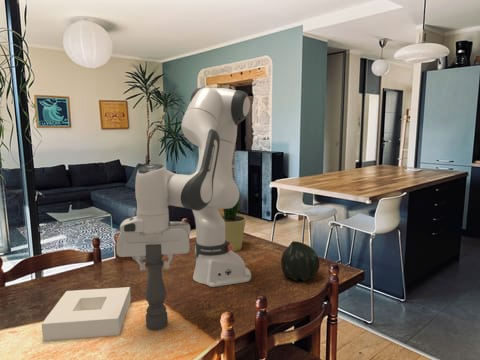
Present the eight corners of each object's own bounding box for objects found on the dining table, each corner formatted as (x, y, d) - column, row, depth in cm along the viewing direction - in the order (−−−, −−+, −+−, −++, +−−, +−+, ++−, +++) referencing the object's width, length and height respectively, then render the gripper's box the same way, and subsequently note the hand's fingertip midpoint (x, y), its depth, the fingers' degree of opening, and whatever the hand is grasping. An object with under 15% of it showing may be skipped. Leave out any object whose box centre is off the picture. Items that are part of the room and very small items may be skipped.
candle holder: (162, 331, 102) (159, 246, 98) (142, 329, 103) (138, 245, 100) (170, 320, 108) (168, 240, 104) (151, 318, 109) (148, 238, 106)
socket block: (130, 301, 120) (130, 287, 119) (119, 335, 100) (118, 318, 99) (67, 305, 117) (66, 290, 116) (43, 341, 97) (41, 323, 97)
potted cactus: (250, 244, 178) (250, 185, 173) (239, 254, 163) (239, 190, 159) (221, 241, 183) (221, 183, 179) (208, 250, 169) (207, 188, 164)
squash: (333, 265, 137) (311, 231, 142) (310, 278, 126) (287, 241, 131) (309, 280, 146) (289, 248, 151) (286, 293, 135) (266, 258, 140)
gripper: (190, 218, 106) (191, 262, 108) (118, 220, 103) (120, 266, 105) (190, 223, 99) (191, 271, 101) (113, 226, 97) (116, 275, 99)
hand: (154, 269), depth 103 cm, fingers closed on candle holder, 5 cm apart
